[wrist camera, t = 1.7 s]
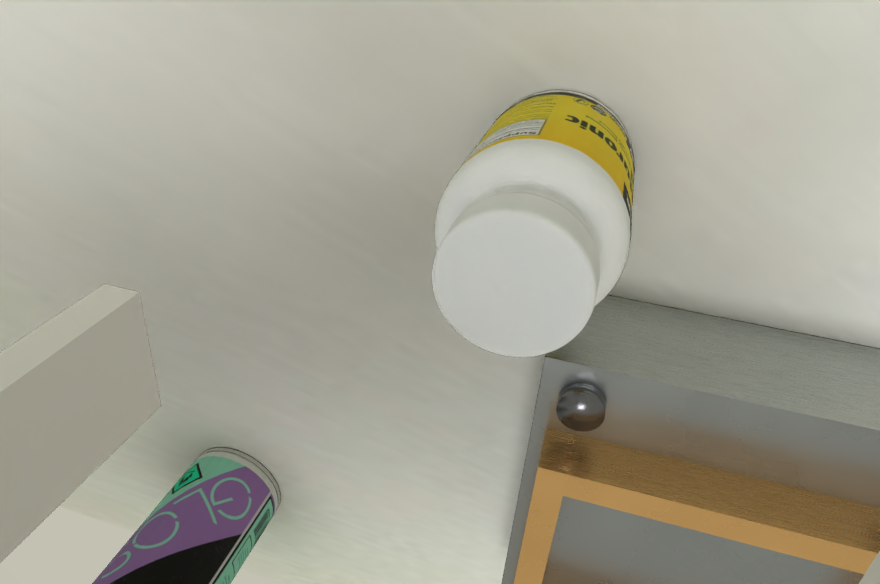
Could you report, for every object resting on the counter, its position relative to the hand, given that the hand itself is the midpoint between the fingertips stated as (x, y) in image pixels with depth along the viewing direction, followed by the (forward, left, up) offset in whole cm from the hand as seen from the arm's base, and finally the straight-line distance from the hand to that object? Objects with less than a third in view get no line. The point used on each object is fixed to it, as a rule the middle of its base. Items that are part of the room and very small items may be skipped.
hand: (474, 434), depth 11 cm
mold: (+8, -13, -15) cm, 21 cm away
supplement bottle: (0, 0, -15) cm, 15 cm away
